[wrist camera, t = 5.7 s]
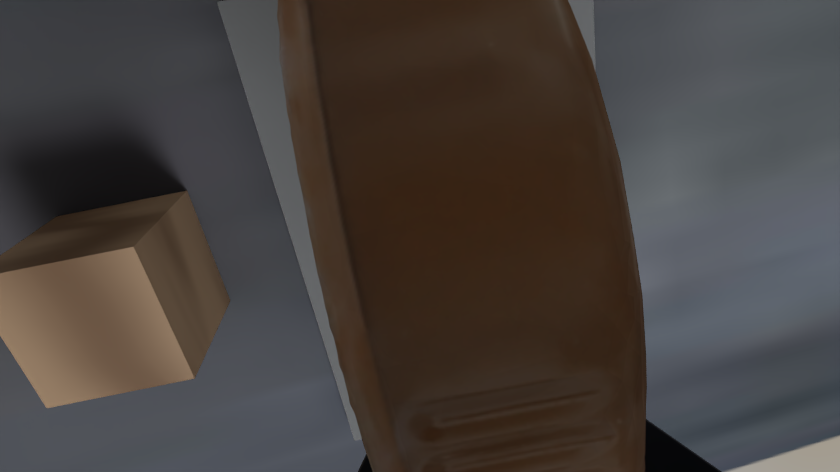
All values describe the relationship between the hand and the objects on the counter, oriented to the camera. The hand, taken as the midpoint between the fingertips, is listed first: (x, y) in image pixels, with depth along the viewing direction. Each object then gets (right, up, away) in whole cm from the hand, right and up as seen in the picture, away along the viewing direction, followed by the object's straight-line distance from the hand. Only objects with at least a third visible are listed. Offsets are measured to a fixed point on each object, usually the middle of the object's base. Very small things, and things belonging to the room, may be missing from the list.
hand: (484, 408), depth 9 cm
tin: (0, +2, +4) cm, 5 cm away
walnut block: (-12, +2, +12) cm, 17 cm away
